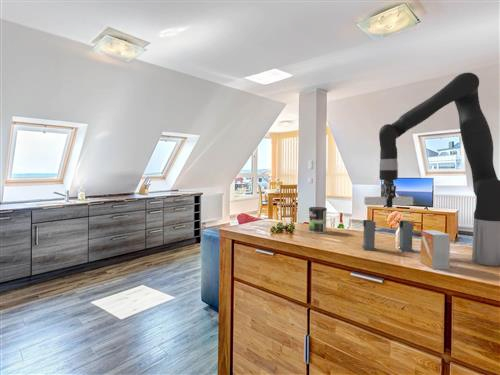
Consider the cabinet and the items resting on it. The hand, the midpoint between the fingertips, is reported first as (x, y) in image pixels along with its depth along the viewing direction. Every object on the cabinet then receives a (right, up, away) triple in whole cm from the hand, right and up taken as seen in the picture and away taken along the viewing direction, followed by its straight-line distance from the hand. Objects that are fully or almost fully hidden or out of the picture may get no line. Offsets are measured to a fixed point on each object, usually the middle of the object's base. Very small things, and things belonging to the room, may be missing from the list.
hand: (388, 206), depth 135 cm
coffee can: (-23, -18, +41) cm, 50 cm away
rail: (0, +1, 0) cm, 1 cm away
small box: (+7, -21, -22) cm, 31 cm away
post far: (-8, -20, +3) cm, 21 cm away
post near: (+8, -20, 0) cm, 21 cm away
